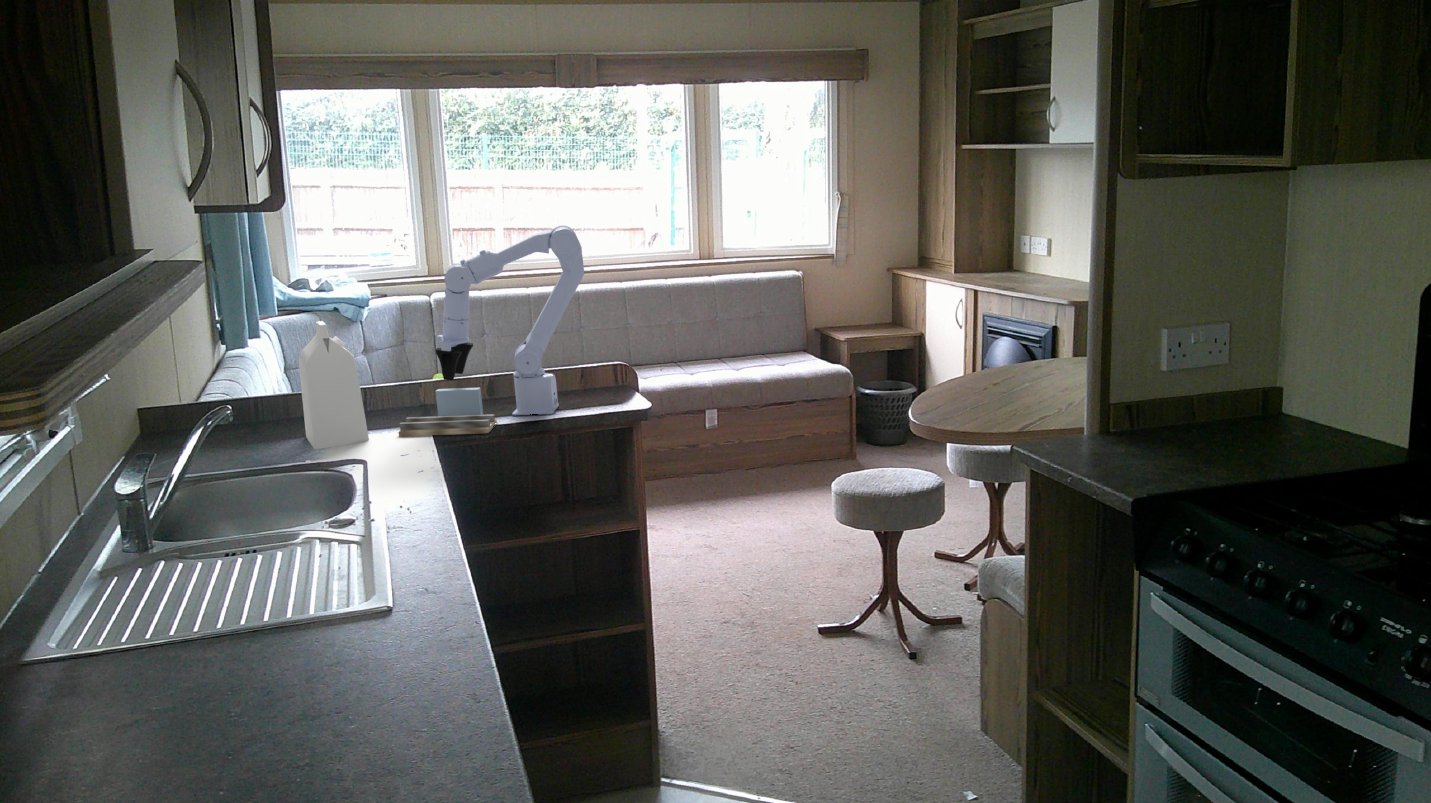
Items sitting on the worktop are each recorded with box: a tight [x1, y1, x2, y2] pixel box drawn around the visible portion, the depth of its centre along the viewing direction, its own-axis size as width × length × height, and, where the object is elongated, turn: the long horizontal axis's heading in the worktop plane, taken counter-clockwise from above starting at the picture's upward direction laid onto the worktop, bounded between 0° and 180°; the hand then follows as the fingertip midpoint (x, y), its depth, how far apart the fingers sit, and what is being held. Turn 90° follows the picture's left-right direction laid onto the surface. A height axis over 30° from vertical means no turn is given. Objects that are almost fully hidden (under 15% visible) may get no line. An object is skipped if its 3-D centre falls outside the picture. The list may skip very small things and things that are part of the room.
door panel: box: [434, 387, 484, 416], centre depth 264 cm, size 10×2×7 cm, turn 86°
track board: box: [397, 414, 498, 437], centre depth 255 cm, size 20×8×2 cm, turn 86°
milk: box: [298, 320, 370, 450], centre depth 250 cm, size 12×12×26 cm
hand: (453, 376), depth 263 cm, fingers open, 7 cm apart
